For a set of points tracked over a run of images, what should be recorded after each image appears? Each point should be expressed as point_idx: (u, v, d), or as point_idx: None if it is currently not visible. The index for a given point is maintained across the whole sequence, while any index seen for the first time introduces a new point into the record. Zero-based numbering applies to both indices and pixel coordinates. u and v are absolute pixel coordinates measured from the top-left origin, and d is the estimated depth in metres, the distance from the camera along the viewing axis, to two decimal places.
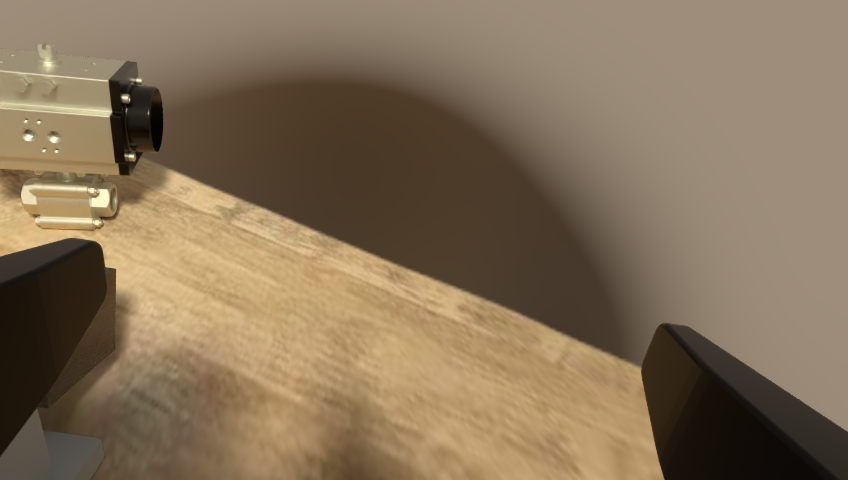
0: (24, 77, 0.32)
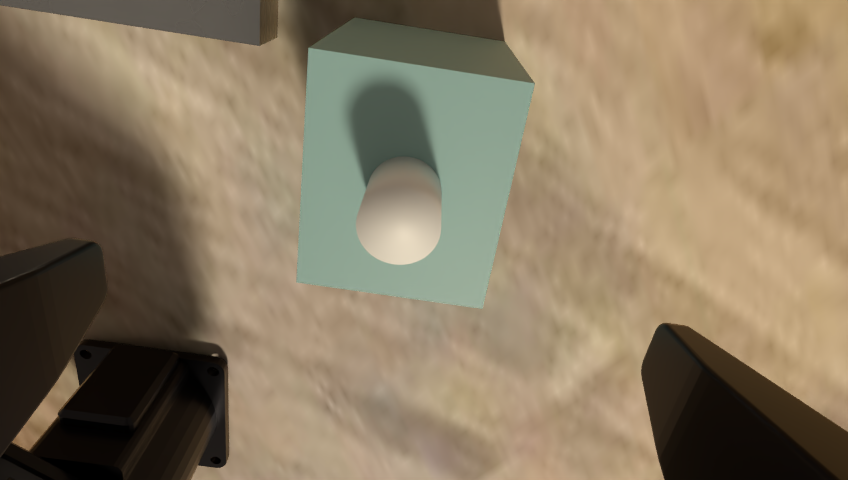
0: None
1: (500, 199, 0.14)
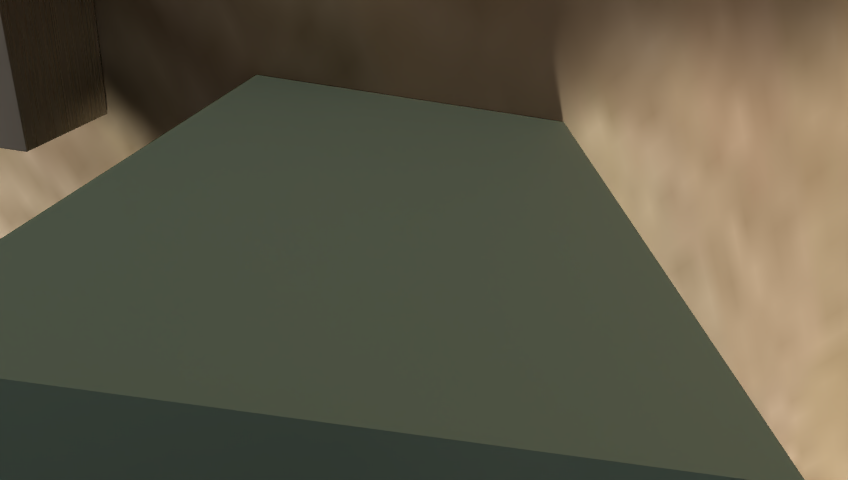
0: None
1: None
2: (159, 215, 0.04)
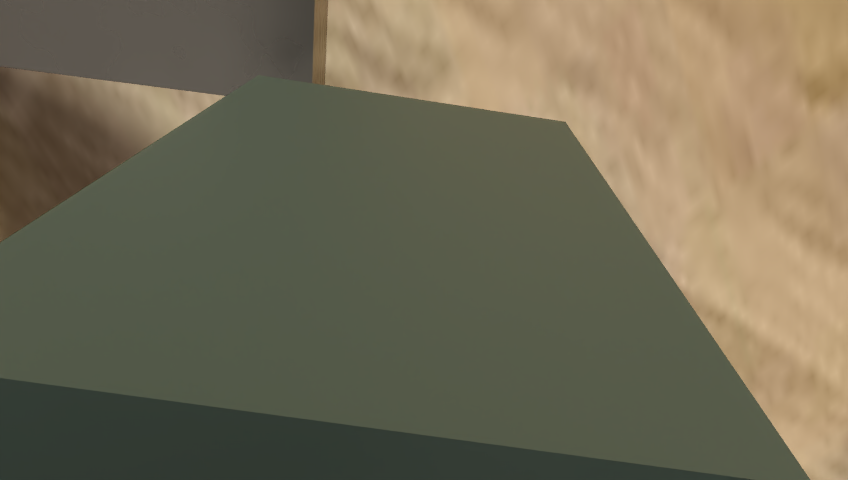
0: None
1: None
2: (163, 215, 0.04)
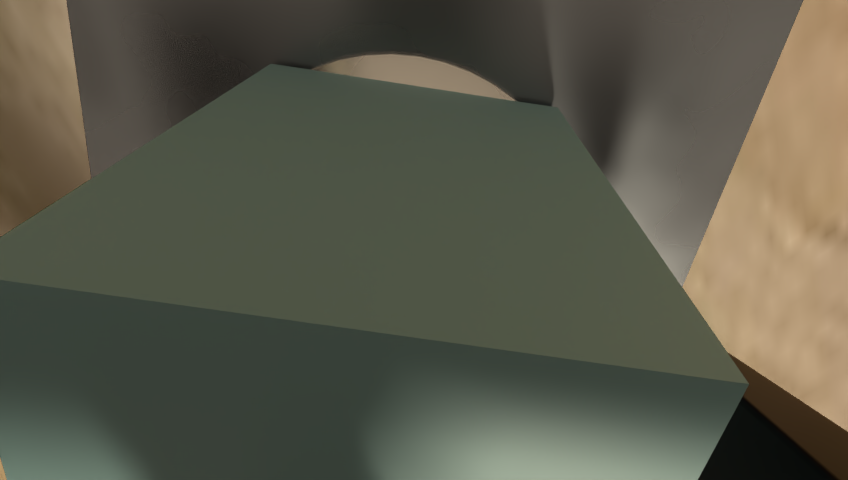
0: None
1: None
2: (199, 177, 0.05)
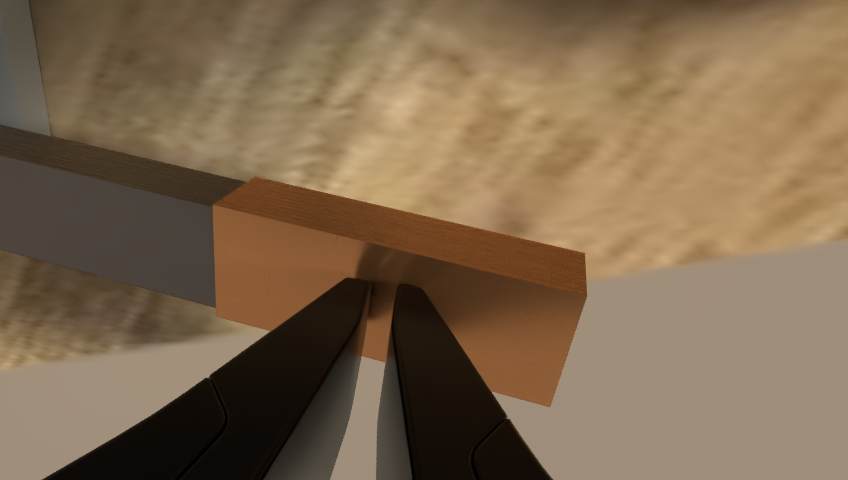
0: None
1: None
2: None
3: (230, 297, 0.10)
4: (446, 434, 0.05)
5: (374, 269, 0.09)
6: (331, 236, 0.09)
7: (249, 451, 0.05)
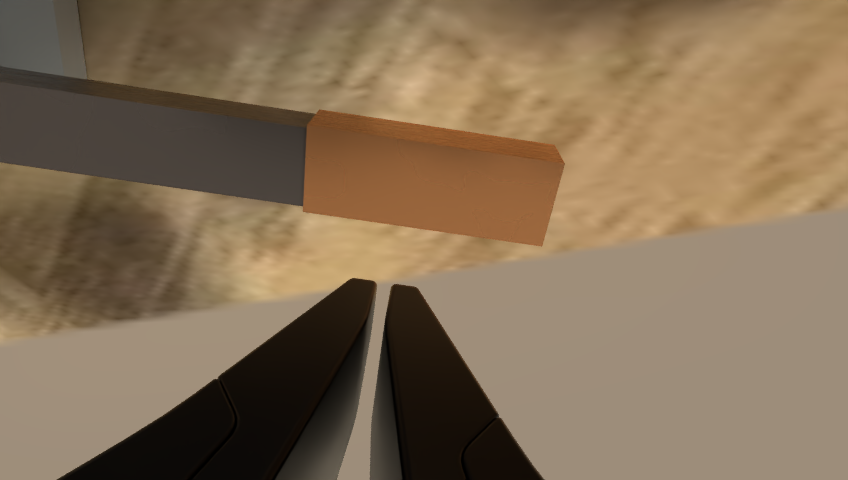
0: None
1: None
2: None
3: (315, 195, 0.14)
4: (437, 433, 0.05)
5: (424, 161, 0.13)
6: (394, 139, 0.13)
7: (259, 452, 0.05)
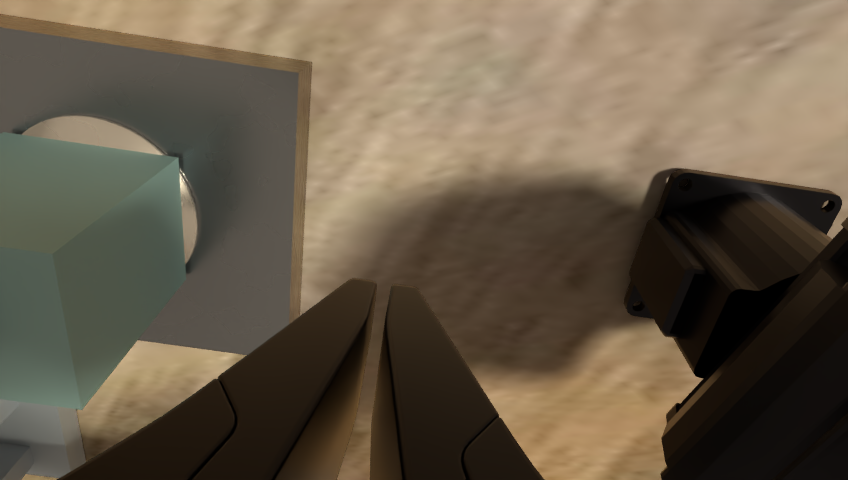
0: None
1: None
2: None
3: None
4: (436, 433, 0.05)
5: None
6: None
7: (260, 452, 0.05)
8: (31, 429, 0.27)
